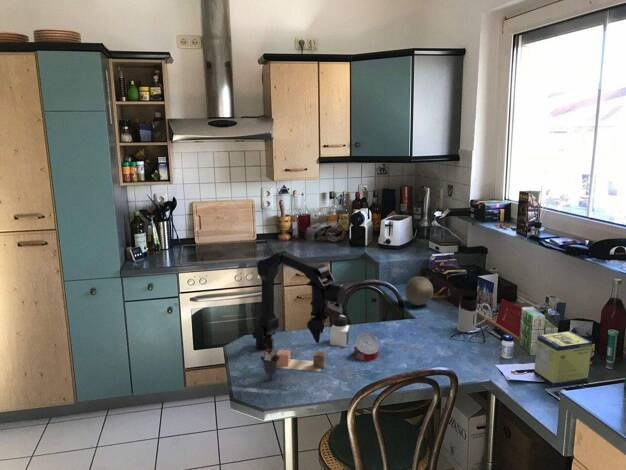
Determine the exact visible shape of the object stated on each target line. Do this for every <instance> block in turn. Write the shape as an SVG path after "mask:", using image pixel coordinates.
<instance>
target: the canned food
mask: <svg viewBox="0 0 626 470" xmlns="http://www.w3.org/2000/svg"><path fill="white" fill-rule="evenodd" d="M379 349H380V344H379V342H378V339H377V338H376V337H375V335H374V334H372V333H371V332H367V331H366V332H362V333H361V334H359V335H357V336H356V338H355V344H354V348H353V350H354V351H353V356H354V358H356V359H357V360H360V361H363V362H364V361H365V362H369V361H375V360H377V359H378V358H379Z"/></svg>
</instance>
